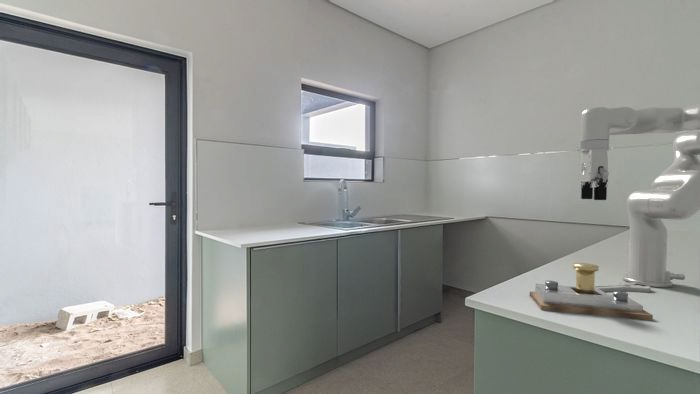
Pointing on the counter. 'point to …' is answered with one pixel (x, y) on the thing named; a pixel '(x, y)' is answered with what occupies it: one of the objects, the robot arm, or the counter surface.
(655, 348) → the counter surface
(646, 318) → the board
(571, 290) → the metal plate with bolts
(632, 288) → the adjustable wrench
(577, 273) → the bolt
